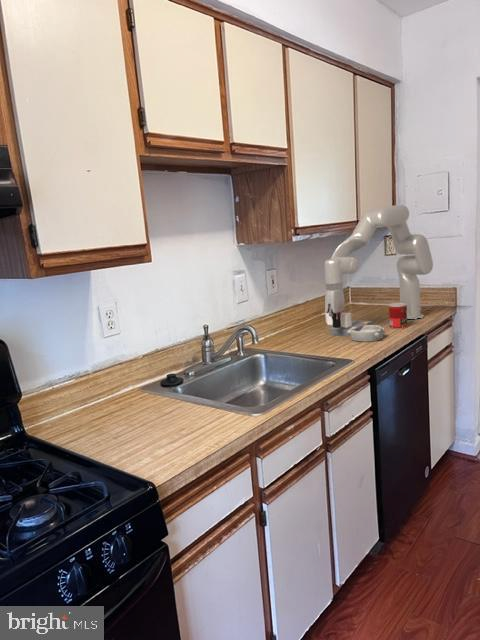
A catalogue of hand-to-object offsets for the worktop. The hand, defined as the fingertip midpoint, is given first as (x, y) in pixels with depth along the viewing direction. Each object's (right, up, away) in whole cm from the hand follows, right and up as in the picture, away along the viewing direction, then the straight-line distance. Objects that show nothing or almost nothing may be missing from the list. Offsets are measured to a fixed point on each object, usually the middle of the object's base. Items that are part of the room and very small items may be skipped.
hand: (336, 327), depth 213 cm
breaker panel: (+9, -2, +10) cm, 14 cm away
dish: (+12, -5, -7) cm, 15 cm away
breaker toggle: (+5, 0, +5) cm, 7 cm away
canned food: (+31, 0, +9) cm, 32 cm away
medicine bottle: (+5, +1, +31) cm, 32 cm away
